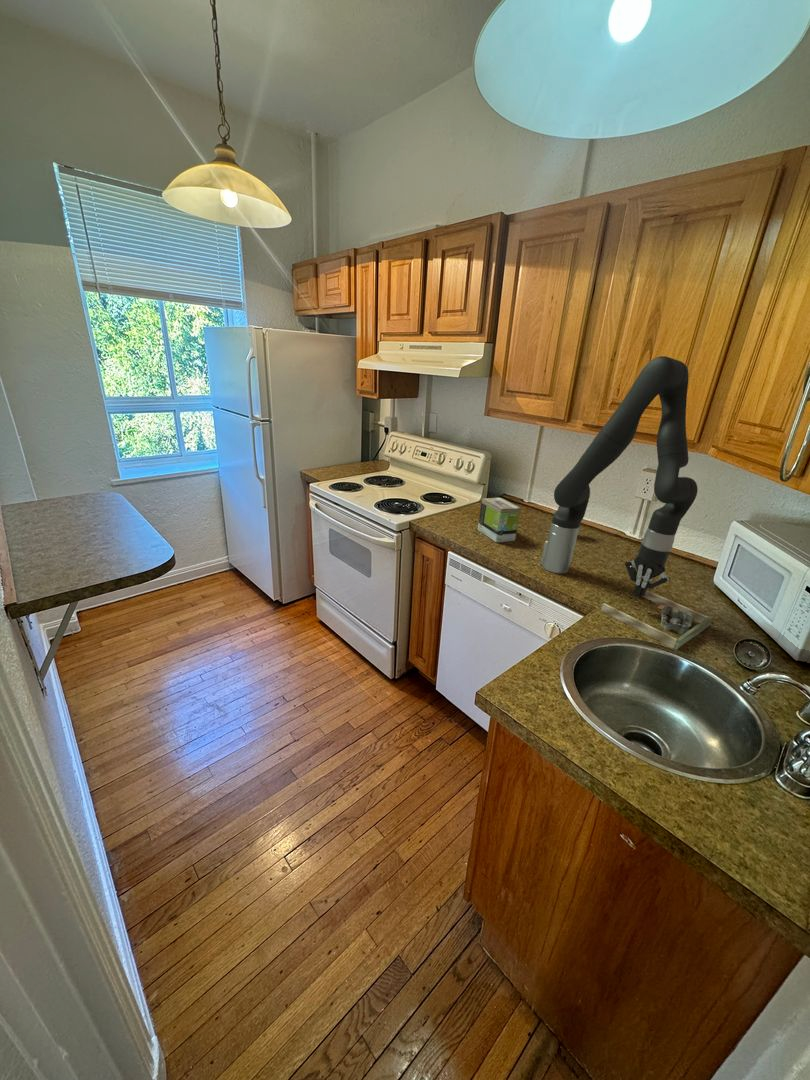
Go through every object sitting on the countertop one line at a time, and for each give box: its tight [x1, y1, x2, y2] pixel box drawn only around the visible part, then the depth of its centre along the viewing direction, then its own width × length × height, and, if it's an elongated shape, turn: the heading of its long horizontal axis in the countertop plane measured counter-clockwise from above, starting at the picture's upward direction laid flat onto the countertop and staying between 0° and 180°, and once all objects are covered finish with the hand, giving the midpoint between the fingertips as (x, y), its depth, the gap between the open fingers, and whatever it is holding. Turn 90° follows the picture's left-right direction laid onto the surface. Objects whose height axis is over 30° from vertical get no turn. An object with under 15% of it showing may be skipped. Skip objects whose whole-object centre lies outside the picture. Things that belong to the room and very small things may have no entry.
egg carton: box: [660, 603, 693, 636], centre depth 123 cm, size 11×8×4 cm
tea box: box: [477, 497, 522, 543], centre depth 177 cm, size 15×10×15 cm, turn 22°
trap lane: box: [600, 589, 713, 651], centre depth 125 cm, size 22×22×3 cm
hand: (638, 596), depth 128 cm, fingers closed
